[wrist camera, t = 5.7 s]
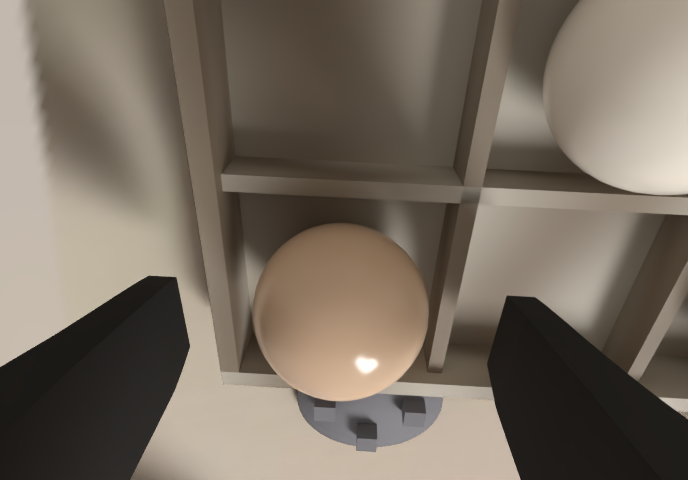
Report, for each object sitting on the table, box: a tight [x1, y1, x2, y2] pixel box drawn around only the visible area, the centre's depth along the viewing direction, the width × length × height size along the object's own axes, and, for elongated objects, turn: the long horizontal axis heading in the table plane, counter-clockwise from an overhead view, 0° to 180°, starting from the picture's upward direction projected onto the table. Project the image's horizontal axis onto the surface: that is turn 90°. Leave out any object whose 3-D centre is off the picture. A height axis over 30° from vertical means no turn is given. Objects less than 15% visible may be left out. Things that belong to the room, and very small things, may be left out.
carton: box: [163, 0, 688, 412], centre depth 10 cm, size 17×12×2 cm
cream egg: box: [543, 0, 688, 195], centre depth 7 cm, size 4×4×4 cm
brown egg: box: [253, 223, 429, 401], centre depth 10 cm, size 4×4×4 cm
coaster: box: [297, 390, 443, 452], centre depth 14 cm, size 5×5×1 cm
